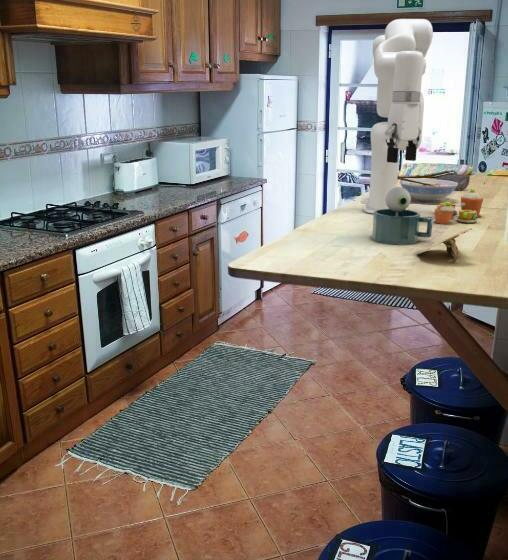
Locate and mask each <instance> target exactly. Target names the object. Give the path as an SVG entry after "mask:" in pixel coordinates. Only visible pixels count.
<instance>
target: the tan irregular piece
mask: <svg viewBox="0 0 508 560" xmlns="http://www.w3.org/2000/svg"><path fill="white" fill-rule="evenodd" d="M472 230H473V228H471V227H470V228H466V229H464V230H462V231H460V232H458V233H456V234H454V235H452V236H450V237H448V238H446V239H444V240H442V241H440V242H438V243H436V244H433V245H432V246H430V247H428V248H426V249H424V250H422V251H420V254H422V253H425V252H426V251H428V250H430V249H432V248H434V247H436V246H438V245H441V244H444V246H445V248H446V253H447V255H449V256H451V257H452V258H453V259H452V263H455V262H456V261H457V258H458V256H459V254H460V251H459V248H458V245H457V243H456V241H457V240H456V238H458V237H459V236H460V235H463V234H468V233H469V231H472Z"/></svg>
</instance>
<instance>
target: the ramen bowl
mask: <svg viewBox="0 0 508 560" xmlns="http://www.w3.org/2000/svg"><path fill="white" fill-rule="evenodd" d="M398 180H399V184H400V187H402V188H404V189H406V190H407V191H408V192H409V194H410V197H411V198H413V199H415V200H417V201H419V202H426V203H430V202H431V203H433V202H437V201H439V200H442V199H445V198H447V197H449V196H450V195H452V193H453V192H454V191H456V190H455V188H456V187H457V185H458V183H456V182H452V181H446V180H437V178H435V179H434V178H405V177H401V176H398V178H397V181H398Z"/></svg>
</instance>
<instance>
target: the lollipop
mask: <svg viewBox="0 0 508 560" xmlns="http://www.w3.org/2000/svg"><path fill="white" fill-rule="evenodd" d="M385 201H386V205H387V207H388V208H389V209H390V210H392V211H394V212H396V216H398V212H401V211H404V210H407V209H408V208H409V206H410V205H411V201H412V197H411V196H410V194H409V192H408V191H407V190H406V189H404V188H402V186H397V187H395V188H393V189H391V190H390V191H389V192H388V193H387V195H386V198H385Z"/></svg>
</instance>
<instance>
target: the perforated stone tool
mask: <svg viewBox="0 0 508 560" xmlns="http://www.w3.org/2000/svg"><path fill="white" fill-rule="evenodd" d="M436 179H437V180H446V181H452V182H456V183H458V185H457V187H456V188H455V190H454V191H456V190H461V191H463V190H467V188H468V186H469V185H470V179H471V177H470V175H469V174H445V175H441V176H438V177H436Z"/></svg>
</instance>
